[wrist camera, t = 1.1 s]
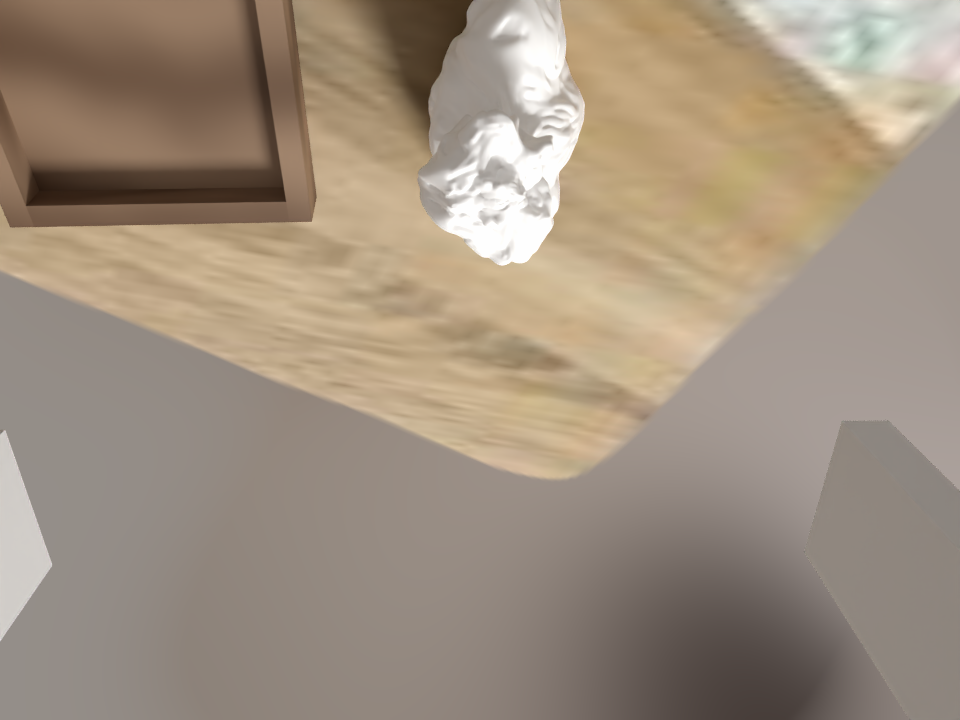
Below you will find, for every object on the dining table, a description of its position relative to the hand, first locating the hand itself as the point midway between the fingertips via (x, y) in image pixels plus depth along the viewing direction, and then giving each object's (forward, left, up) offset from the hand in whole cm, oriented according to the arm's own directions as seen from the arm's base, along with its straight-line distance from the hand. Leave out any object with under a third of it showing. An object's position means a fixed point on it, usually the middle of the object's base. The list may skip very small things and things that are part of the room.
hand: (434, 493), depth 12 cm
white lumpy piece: (+2, +4, -25) cm, 25 cm away
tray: (0, -11, -25) cm, 27 cm away
